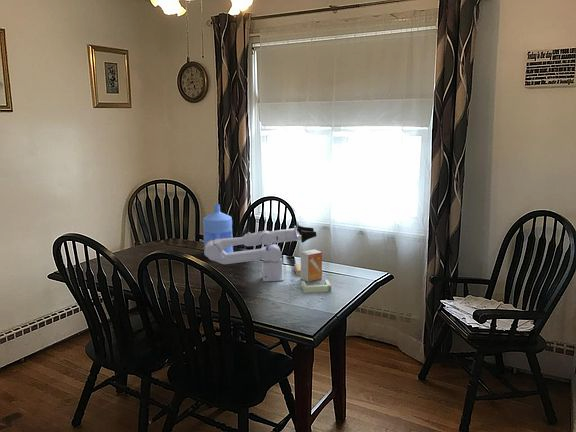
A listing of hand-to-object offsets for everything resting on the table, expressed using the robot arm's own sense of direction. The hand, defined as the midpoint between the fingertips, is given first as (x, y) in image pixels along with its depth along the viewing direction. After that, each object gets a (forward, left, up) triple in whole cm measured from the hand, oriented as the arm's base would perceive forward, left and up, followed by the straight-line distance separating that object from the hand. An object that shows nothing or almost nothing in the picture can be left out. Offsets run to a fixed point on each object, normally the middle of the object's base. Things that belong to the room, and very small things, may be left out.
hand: (314, 232), depth 227 cm
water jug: (-46, +43, -22) cm, 67 cm away
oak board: (-2, +7, -22) cm, 24 cm away
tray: (-2, -16, -22) cm, 27 cm away
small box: (-2, -3, -22) cm, 22 cm away
